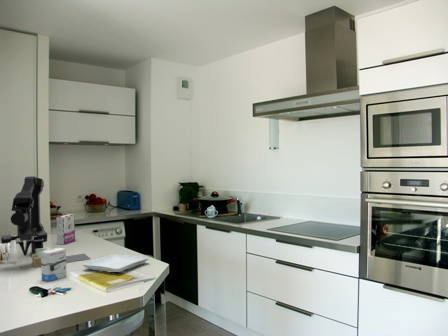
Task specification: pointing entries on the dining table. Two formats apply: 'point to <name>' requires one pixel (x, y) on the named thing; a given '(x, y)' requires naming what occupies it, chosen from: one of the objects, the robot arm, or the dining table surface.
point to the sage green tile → (38, 251)
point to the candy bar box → (65, 229)
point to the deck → (36, 261)
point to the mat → (76, 258)
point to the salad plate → (115, 263)
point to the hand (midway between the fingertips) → (25, 255)
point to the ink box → (53, 264)
